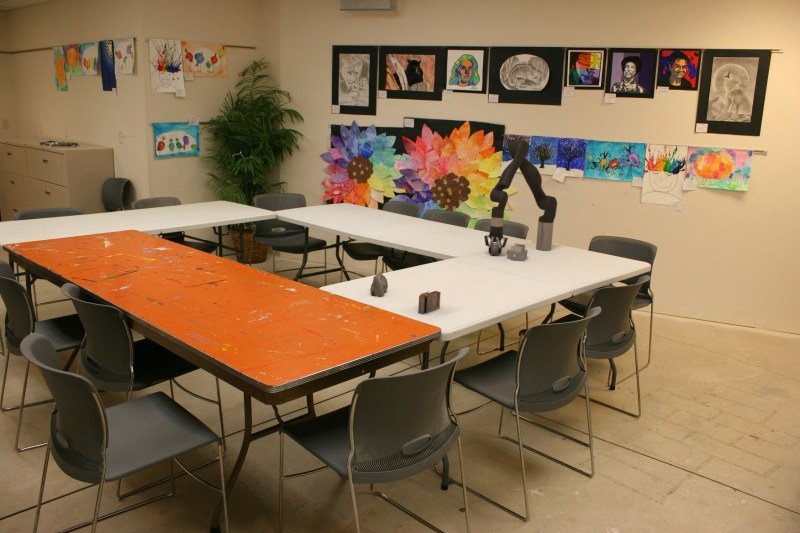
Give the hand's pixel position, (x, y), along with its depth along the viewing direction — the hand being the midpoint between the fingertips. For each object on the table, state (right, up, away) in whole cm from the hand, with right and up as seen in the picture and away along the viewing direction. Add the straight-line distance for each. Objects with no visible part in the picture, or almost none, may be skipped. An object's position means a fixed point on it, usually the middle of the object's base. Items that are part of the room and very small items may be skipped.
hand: (494, 253), depth 392 cm
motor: (+11, -3, -8) cm, 13 cm away
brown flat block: (-43, -26, -115) cm, 125 cm away
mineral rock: (-64, -20, -91) cm, 113 cm away
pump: (0, -1, 0) cm, 1 cm away
